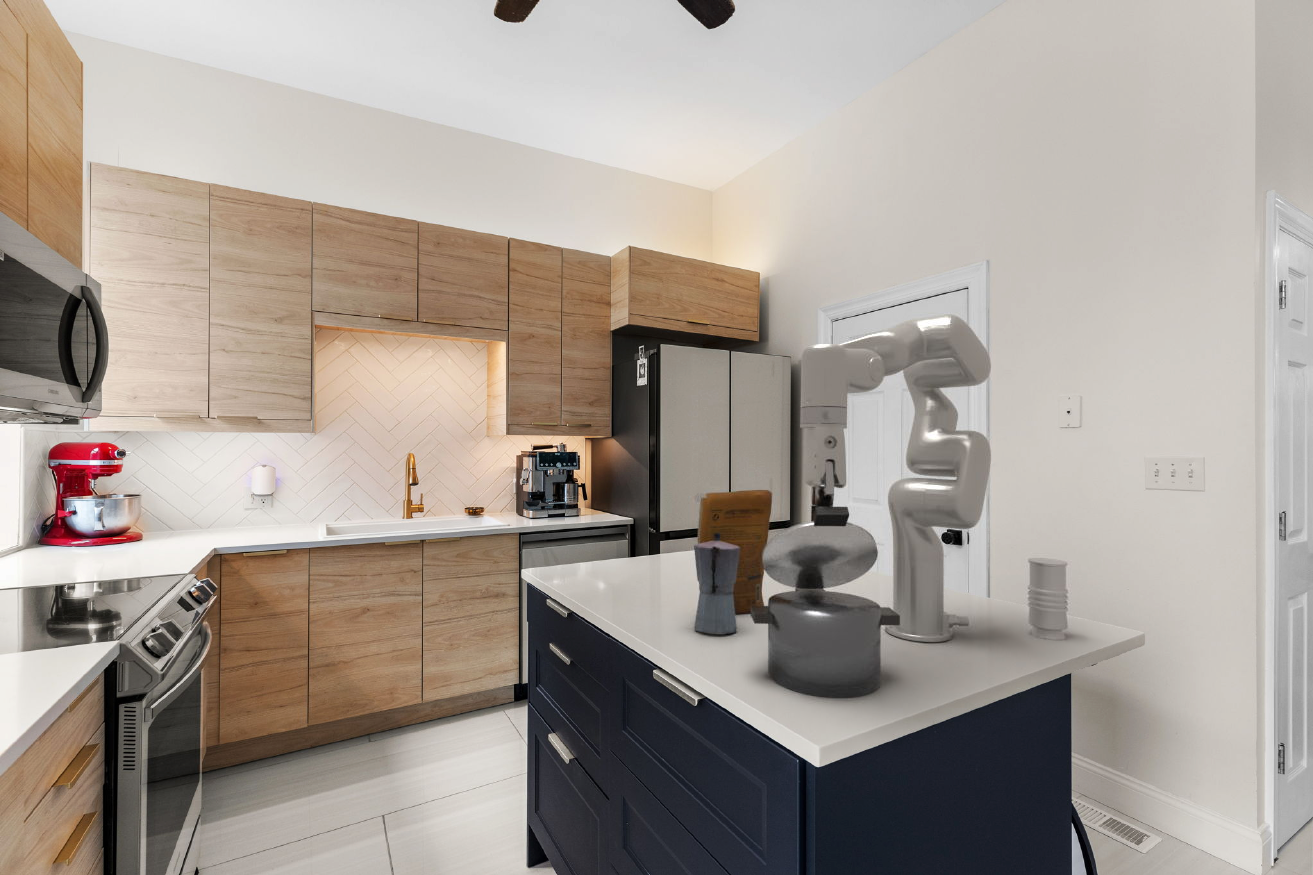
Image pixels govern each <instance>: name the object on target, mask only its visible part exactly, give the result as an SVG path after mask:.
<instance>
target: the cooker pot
mask: <svg viewBox="0 0 1313 875" xmlns="http://www.w3.org/2000/svg"><path fill="white" fill-rule="evenodd" d="M794 589H795V590H792V591H791V590H790V591H784V592H780V593H776V594H773V595H771V596H770V597H769V598H768V600H767V603H768V604H767V605H764V606H751V613H750V617H751V619H752V622H753V623H754V624H757V625H758V624H760V625H764V624H765V625H767V673H768V676H769V678H770V679H771V680H772V681H773V682H774V683H776V684H777V685H779V686H780V687H783V688H785V689H787V690H790V691H792V692H796V693H799V694H804V695H809V696H812V697H820V698H829V699H848V698H851V699H852V698H858V697H863V696H866V695H870V694H872V693H874V692H876V691H878V690H879V688H880V687H881V685H882V681H881V680H882V679H881V678H882V676H881V674H882V672H881V670H882V668H881V667H882V665H881V664H882V663H881V662H882V661H881V660H882V658H881V657H882V655H881V654H882V651H881V648H882V645H881V644H882V642H881V641H882V638H881V637H882V634H881V633H882V632H881V631H882V628H881V627H882V626H885V625H900V615H898V614H897V613H896V612H895V611H893V608H891V607H888V606H886V607H885V606H884V607H882V606H881V605H880V604H878V603H877V602H876V601H873V600H872V599H869V598H866V597H864V596H859V595H855V594H850V593H845V592H837V591H830V590H828V591H827V590H825V588H823V589H801V588H794Z"/></svg>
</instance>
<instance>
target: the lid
mask: <svg viewBox="0 0 1313 875" xmlns="http://www.w3.org/2000/svg"><path fill="white" fill-rule="evenodd" d="M849 511H850V510H849V508H848V506H833V507H815V511H814V514H813V521H811V520H810V521H806V522H802V523H799V524H795V525H792V526H790V527H788V528H786V529H783V530H781V531H779V532H778V533H777V534H775V535H774V536H773V537H772V538H770V539H769V540H768V541H767V544H766V546H765V547H764V550H763V553H762V561H763V567H764V573H766V574H767V576H768V577H769V578H771V579H772V580H773V581H775V582H777V583H779V584H781V585H783V586H787V587H791V588H794V589H795V588H801V589H828V588H833V587H834V588H835V587H838V586H842V585H846V584H847V583H851V582H853V581H855V580H858V579H859V578H860V577H862V576H864V575H866V573H868V572H869V571H870V570H871V569H872V568H873V566H874V565H875V564H876V562H877V560H878V554H879V553H878V547H877V543H876V539H874V538H875V537H873V535H872V534H871V533H870V531H868V530H867V529H865V528H863V527H862V526H859V525H857V524H855V523H852V522H849V518H850V512H849Z"/></svg>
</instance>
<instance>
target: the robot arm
mask: <svg viewBox="0 0 1313 875" xmlns="http://www.w3.org/2000/svg"><path fill="white" fill-rule="evenodd" d="M991 364H992V363H991V358H990V355H989V352H988V350H987V348H986V347H985V346H984V344H983V342H982V341H981V340H980V338H979V337H978V335H977V334H976V332H974V330H973V329H972V328H971V326H969V324H968V323H967V322H966V321H965V320H964V319H963V318H961V317H959V316H958V315H955V314H944V315H936V316H929V317H928V316H927V317H923V318H915V319H914V318H913V319H910V320H905V321H903V322H900V323H898V324H896V325H894V326H891V327H888V328H887V329H884V330H882V331H879V332H876V333H873V334H869V335H865V336H863V337H860V338H857V339H854V340H853V339H852V340H850V341H847V342H844V343H840V344H836V343H817V344H812V345H808V346H806V347H805V348H804V349H803V350H802V353H801V365H800V366H801V367H800V368H801V369H800V370H801V372H800V419H799V420H800V423H799V426H800V429H805V443H804V444H805V445H804V482H805V484H807V485H808V486H809V487H811V488H810V489H811V490H810V491H811V493H810V494H811V495H810V496H811V506H810V507H811V508H810V522H811V521H813V514H814V511H815V507H834V497H835V496H834V495H835V488H837V489H843V488H845V487H846V485H847V457H846V456H847V455H846V438H845V431H844V430H845V429H848V394H860V393H868V392H871V391H873V390H876V389H877V388H878V387H879V386H880V385H881V384H882V383H883V381H884V378H885V377H889V376H893V375H896V374H898V373H900V372H901V371H902V372H903V377H904V381H905V383H906V386H907V389H908V391H909V395H910V397H911V399H912V402H913V406H914V417H913V421H912V426H911V430H910V434H909V440H908V445H907V448H906V453H905V454H906V455H905V463H906V467H907V468H908V471H910V472H912V473H913V474H915V475H919V476H927V477H906V478H901V479H899V480H896V481H895V482H893V484H892V485H891V486H890V487H889V491H888V494H887V505H888V511H889V515H890V521H891V530H892V557H893V559H892V560H893V561H892V562H893V563H892V564H893V565H892V568H893V570H892V572H893V574H892V575H893V576H892V578H893V581H892V585H893V586H892V587H893V588H892V592H893V593H892V599H893V600H892V602H893V604H892V606H893V607H892V610H893V611H895V612H896V613H897V614H898V615H900V625H884V630H885V631H886V632H887V633H888V634H889V635H890V636H891V635H892V636H894V637H896V638H899V639H904V640H908V641H912V642H913V641H914V642H920V643H921V642H922V643H941V642H946V641H949V640H951V639H952V637H953V631H952V628H953V627H954V626H956V627H957V626H958V627H969V625H970V620H969V617H968V616H963V615H962V616H960V615H958V616H957V614H953V613H952V614H949V613H947V612H946V611H944V610H945V609H944V608H945V606H944V605H945V604H944V603H945V602H944V600H945V599H944V598H945V596H944V595H945V594H944V592H945V590H944V586H945V584H944V583H945V582H944V581H945V580H944V578H945V577H944V576H945V575H944V574H945V573H944V571H945V570H944V566H945V565H944V563H945V562H944V559H945V558H944V556H945V554H944V546H943V543H942V541H941V538H940V537H939V535H938V534H937V532H936V531H935V530H934V528H933V527H937V528H948V529H959V530H968V529H969V530H970V529H972V528H974V527H976V526H977V525H978V523H980V520H981V517H982V513H983V510H984V504H985V499H986V492H987V487H988V481H989V475H990V470H991V462H992V451H991V446H990V442H989V440H988V438H987V437H986V436H985V435H984V434H983V433H981V432H979V431H976V430H965V429H964V430H963V429H962V430H957V425H958V421H959V420H958V419H959V413H958V410H957V408H956V406H955V405H954V403H953V402H952V401H951V400H950V398H948V397H947V395H945V394H944V392H943V391H942V389H944V388H945V389H946V388H947V389H948V388H963V387H974V386H979V385H981V384H983V383H984V382H986V380H987V379H988V378H989V375H990V373H991V368H992V365H991ZM928 477H931V478H928ZM932 477H938V478H932ZM939 477H940V479H939ZM941 477H942V478H941ZM943 477H944V478H945V479H943ZM946 477H947V478H955V479H946ZM807 485H806V486H807Z"/></svg>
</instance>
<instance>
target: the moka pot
mask: <svg viewBox="0 0 1313 875" xmlns="http://www.w3.org/2000/svg"><path fill="white" fill-rule="evenodd" d="M720 536H721V534H720V533H714V539H715V540H714V541H710V542H705V543H700V544H698V543H696V544H694V546H693V549H694V560H695V568H696V569H695V570H696V578H697V582H698V590H699V593H698V594H699V595H698V601H697V609H696V616H695V622H694V628H693V629H694V630H696V631H697V632H700V633H704V634H710V635H727V634H734V633H736V632H737V631H738V629H737V628H738V626H737V619H736V614H735V608H734V598H733V589H734V583H735V582H736V575H737V567H738V560H739V553H740V547H738V546H735V545H732V544H729V543H726V542H722V541H720Z"/></svg>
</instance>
